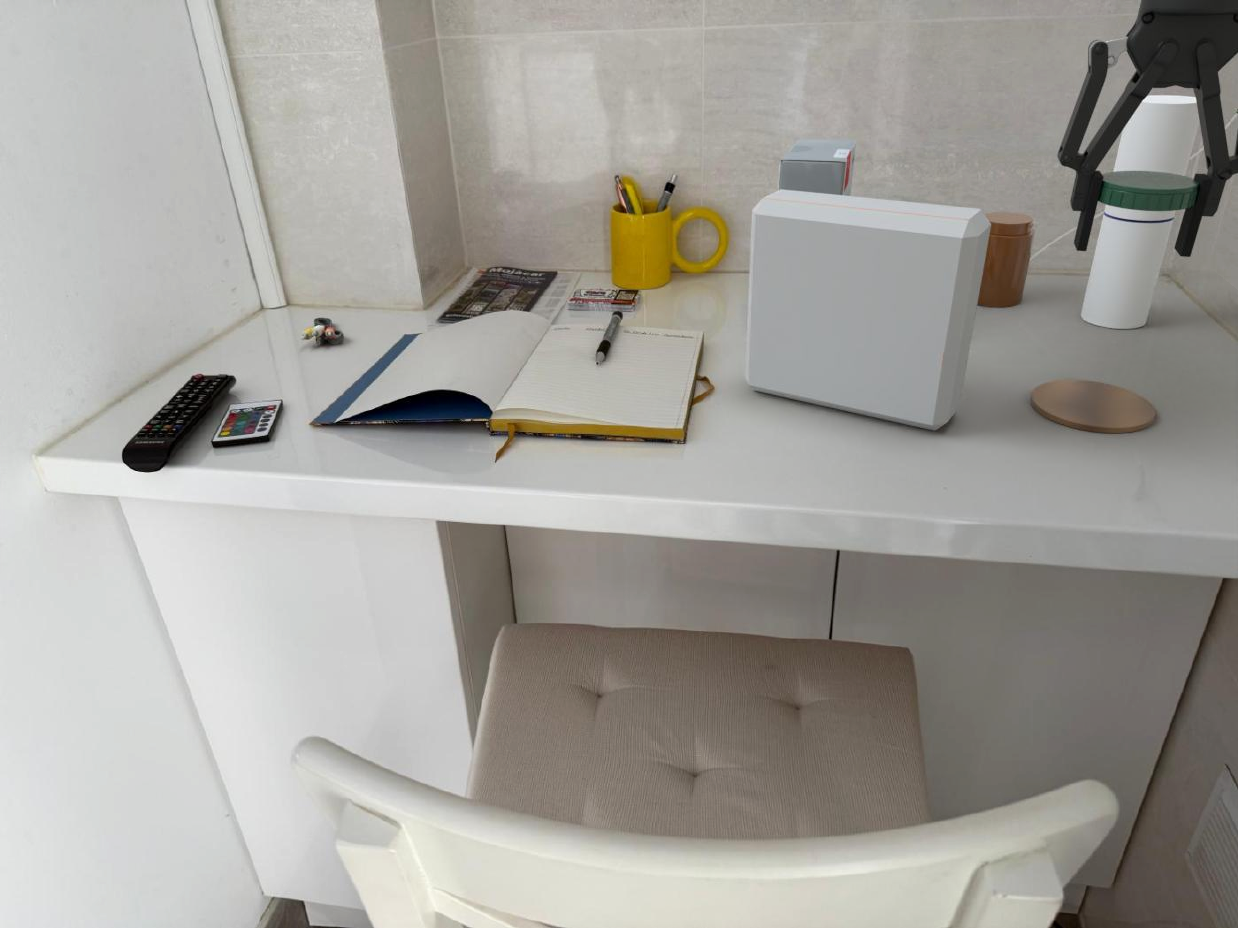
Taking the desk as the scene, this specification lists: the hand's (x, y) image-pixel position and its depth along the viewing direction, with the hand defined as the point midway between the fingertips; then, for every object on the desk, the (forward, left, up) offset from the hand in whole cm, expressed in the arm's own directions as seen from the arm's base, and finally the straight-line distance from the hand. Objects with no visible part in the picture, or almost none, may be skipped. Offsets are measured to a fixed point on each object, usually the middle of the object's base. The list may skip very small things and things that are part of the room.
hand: (1130, 249), depth 79 cm
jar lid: (0, 0, +6) cm, 6 cm away
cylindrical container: (-6, -27, -16) cm, 32 cm away
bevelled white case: (+23, +4, -16) cm, 28 cm away
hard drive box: (+31, -23, -16) cm, 42 cm away
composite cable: (+88, +1, -16) cm, 89 cm away
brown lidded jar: (+8, -32, -16) cm, 37 cm away
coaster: (0, 0, -16) cm, 16 cm away
